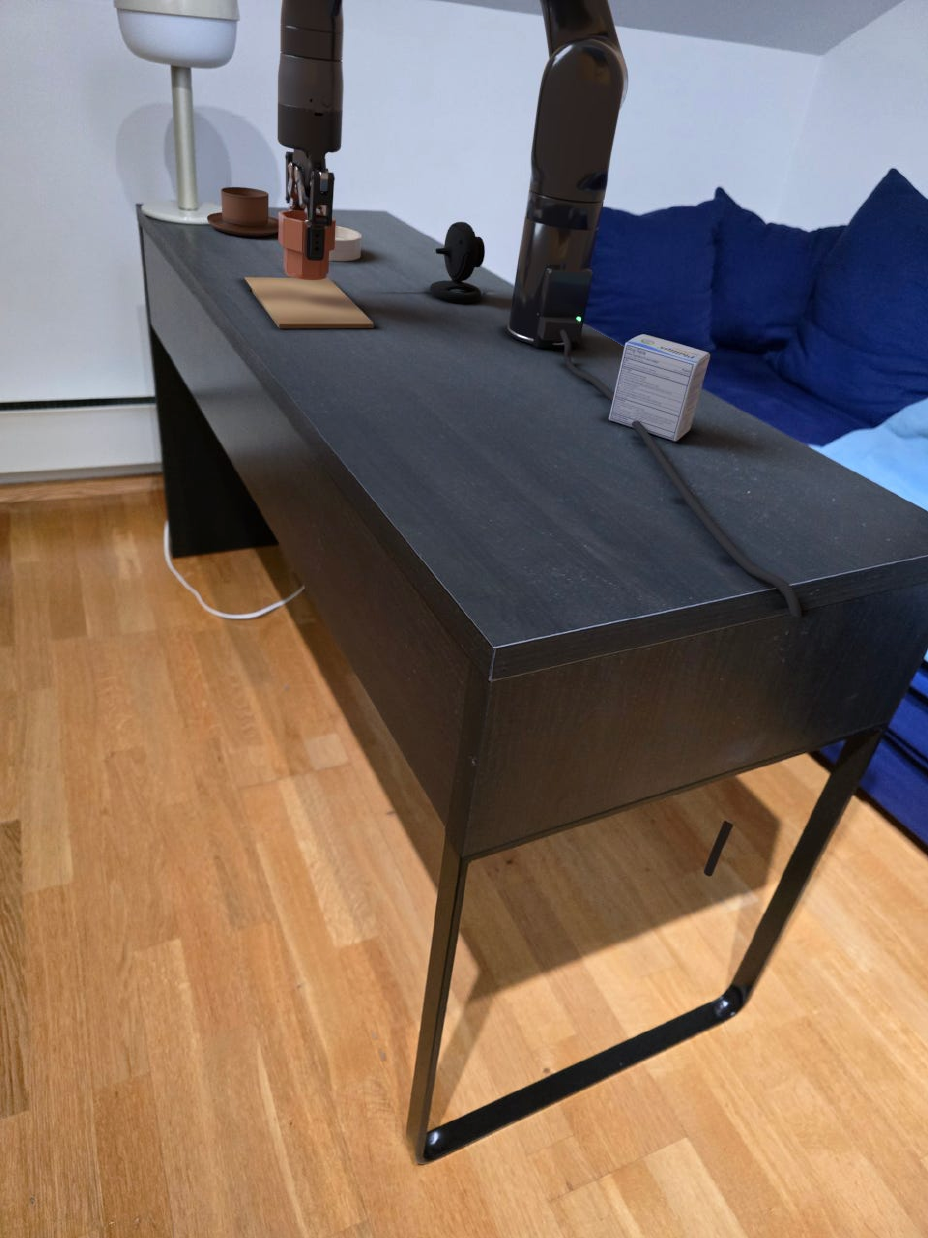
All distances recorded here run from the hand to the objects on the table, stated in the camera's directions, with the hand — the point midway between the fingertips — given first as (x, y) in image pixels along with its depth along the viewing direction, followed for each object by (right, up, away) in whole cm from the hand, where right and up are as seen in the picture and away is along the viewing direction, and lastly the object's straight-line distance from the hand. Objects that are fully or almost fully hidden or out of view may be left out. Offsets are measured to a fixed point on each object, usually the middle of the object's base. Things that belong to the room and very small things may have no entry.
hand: (307, 251), depth 112 cm
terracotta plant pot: (0, -2, +2) cm, 3 cm away
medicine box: (+40, -26, -18) cm, 51 cm away
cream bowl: (-1, +10, +26) cm, 27 cm away
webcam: (+19, 0, +15) cm, 24 cm away
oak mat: (-1, -5, +4) cm, 6 cm away
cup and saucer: (-16, +16, +31) cm, 38 cm away
